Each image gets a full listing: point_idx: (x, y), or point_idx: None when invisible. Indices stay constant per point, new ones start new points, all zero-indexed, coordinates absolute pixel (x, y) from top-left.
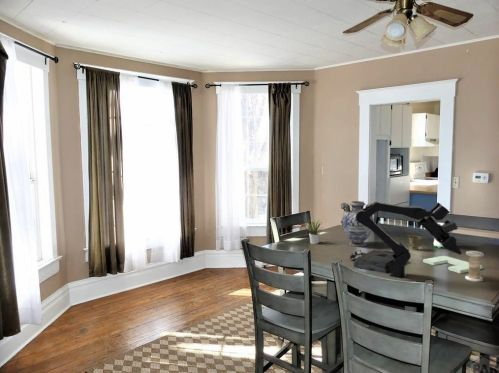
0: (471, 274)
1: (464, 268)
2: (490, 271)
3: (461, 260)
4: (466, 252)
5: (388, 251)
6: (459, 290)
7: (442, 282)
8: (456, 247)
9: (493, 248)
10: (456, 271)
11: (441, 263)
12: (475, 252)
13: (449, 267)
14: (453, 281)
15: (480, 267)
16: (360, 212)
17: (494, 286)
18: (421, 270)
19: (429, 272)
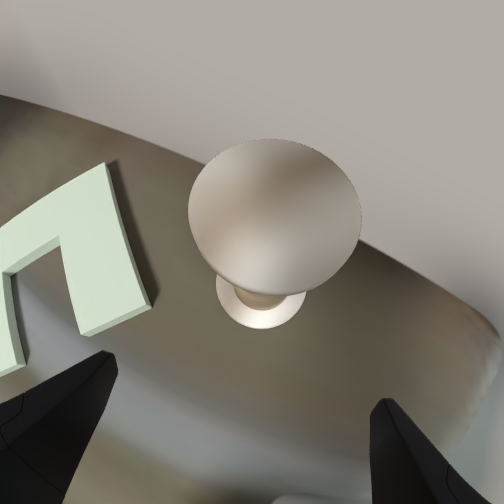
0: (281, 300)
1: (117, 260)
2: (147, 155)
3: (23, 212)
4: (258, 285)
5: None
6: (423, 422)
7: (315, 473)
8: (448, 484)
9: (5, 97)
10: (129, 316)
11: (13, 310)
12: (259, 187)
13: (86, 332)
14: (300, 415)
15: (107, 173)
16: None
17: (365, 242)
18: (103, 479)
19: (134, 464)
